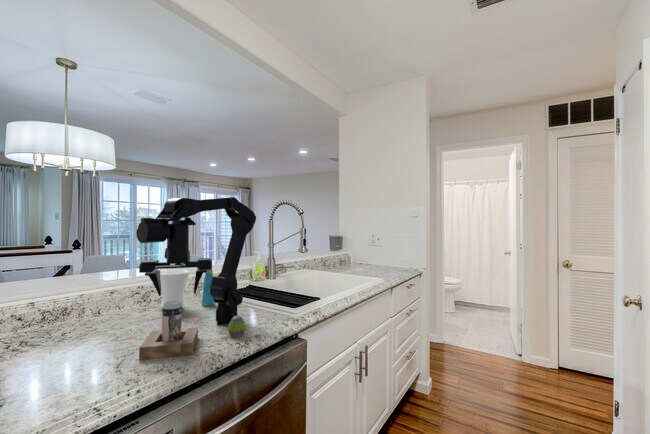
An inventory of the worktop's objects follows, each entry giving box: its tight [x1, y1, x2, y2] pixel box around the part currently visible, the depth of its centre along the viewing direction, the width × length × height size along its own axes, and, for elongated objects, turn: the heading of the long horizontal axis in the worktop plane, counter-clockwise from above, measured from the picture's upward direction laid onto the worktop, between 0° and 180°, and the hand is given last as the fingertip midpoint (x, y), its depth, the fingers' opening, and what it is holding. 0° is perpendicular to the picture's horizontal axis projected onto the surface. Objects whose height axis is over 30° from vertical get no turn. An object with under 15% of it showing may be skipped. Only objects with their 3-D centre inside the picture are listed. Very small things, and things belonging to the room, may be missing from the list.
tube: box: [201, 256, 215, 307], centre depth 125 cm, size 7×5×19 cm, turn 26°
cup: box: [160, 269, 190, 311], centre depth 119 cm, size 11×11×14 cm
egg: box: [227, 314, 246, 339], centre depth 92 cm, size 5×5×6 cm
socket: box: [138, 327, 199, 361], centre depth 82 cm, size 12×12×3 cm
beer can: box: [161, 301, 183, 342], centre depth 82 cm, size 5×5×12 cm
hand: (177, 294), depth 89 cm, fingers open, 9 cm apart
